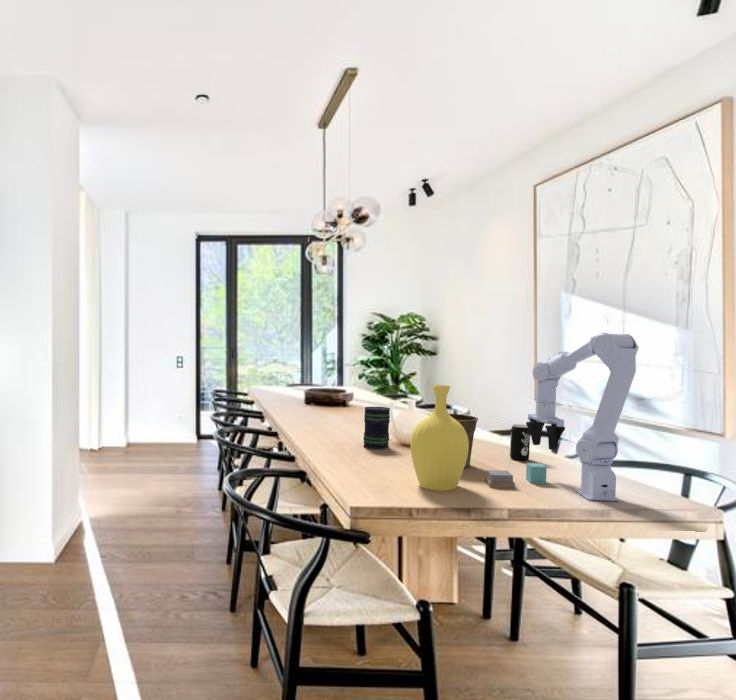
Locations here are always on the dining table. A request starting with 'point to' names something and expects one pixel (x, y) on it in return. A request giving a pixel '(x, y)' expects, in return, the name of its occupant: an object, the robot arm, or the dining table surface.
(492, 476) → the grey slab
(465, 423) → the plant pot
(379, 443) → the storage jar
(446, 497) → the dining table surface
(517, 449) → the beverage can
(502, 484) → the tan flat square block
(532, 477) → the teal block
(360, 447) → the dining table surface
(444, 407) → the vase
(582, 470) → the robot arm
